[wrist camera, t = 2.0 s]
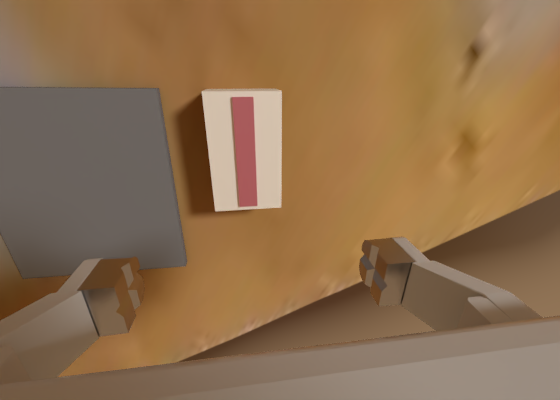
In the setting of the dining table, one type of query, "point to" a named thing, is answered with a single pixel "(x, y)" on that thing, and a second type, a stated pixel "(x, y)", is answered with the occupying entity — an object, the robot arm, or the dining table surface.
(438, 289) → the robot arm
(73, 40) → the dining table surface
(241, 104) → the card deck
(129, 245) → the mat
